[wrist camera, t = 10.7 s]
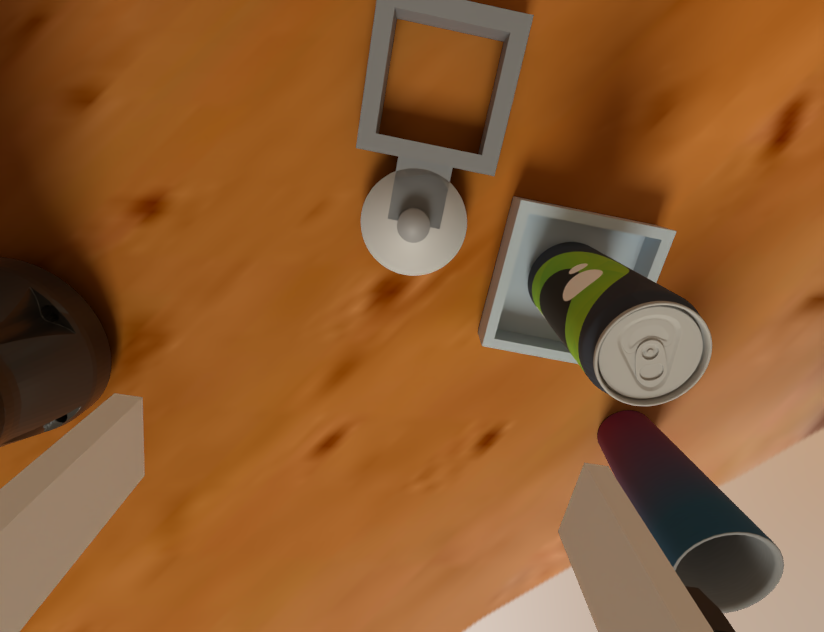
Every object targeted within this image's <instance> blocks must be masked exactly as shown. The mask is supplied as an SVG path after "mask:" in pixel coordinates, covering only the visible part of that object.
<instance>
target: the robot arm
mask: <svg viewBox="0 0 824 632" xmlns="http://www.w3.org/2000/svg"><path fill="white" fill-rule="evenodd" d="M110 372H111V352H110V347H109V342H108V339H107V336H106V334H105V331H104V329H103V327H102V325H101V323H100V321H99V319H98V317H97V316H96V314H95V313H94V311H93V310H92V309H91V307H90V306H89V305H88V304H87V302H86V301H85V300H84V299H83V298H82V297H81V296H80V295H79V294H78V293H77V292H76V291H75V290H74V289H73V288H72V287H70V286H69V285H68V284H67V283H65V282H64V281H63V280H61V279H60V278H58V277H57V276H55V275H53V274H52V273H50V272H48V271H46V270H44V269H42V268H40V267H38V266H35V265H33V264H30V263H27V262H24V261H20V260H16V259H11V258H4V257H0V447H1V446H4V445H7V444H10V443H13V442H16V441H19V440H22V439H25V438H28V437H31V436H34V435H37V434H40V433H43V432H46V431H50V430H52V429H55V428H58V427H60V426H62V425H64V424H66V423H68V422H70V421H72V420H73V419H74V418H76V417H77V416H79V415H80V414H81V413H83V412H84V411H85V410H87V409H88V408H89V407H90V406H92V405H93V404H94V403H95V402H96V401H97V400H98V399H99V398H100V396H101V395H102V393H103V392H104V390H105V388H106V386H107V384H108V381H109V377H110ZM143 477H144V436H143V397H136V396H129V395H122V394H116V393H114V394H113V395H112V396H111V397H110V398H109V399H107V400H106V401H105V402H104V403H103V404H101V405H100V406H99V407H98V408H97V409H95V410H94V411H93V412H92V413H91V414H89V415H88V416H87V417H86V418H85V419H83V420H82V421H81V422H80V423H79V424H77V425H76V426H75V427H74V428H73V429H71V430H70V431H69V432H68V433H67V434H66V435H64V436H63V437H62V438H61V439H60V440H58V441H57V442H56V443H55V444H54V445H52V446H51V447H50V448H49V449H48V450H46V451H45V452H44V453H43V454H42V455H40V456H39V457H38V458H37V459H36V460H34V461H33V462H32V463H31V464H30V465H28V466H27V467H26V468H25V469H24V470H23V471H21V472H20V473H19V474H18V475H17V476H15V477H14V478H13V479H12V480H11V481H9V482H8V483H7V484H6V485H5V486H3V487H2V488H1V489H0V632H20V630H21V629H22V628H23V627H24V625H25V624H26V623H27V622H28V620H29V619H30V618H31V617H32V615H33V614H34V613H35V612H36V610H37V609H38V608H39V607H40V605H41V604H42V603H43V602H44V600H45V599H46V598H47V597H48V595H49V594H50V593H51V592H52V590H53V589H54V588H55V587H56V585H57V584H58V583H59V582H60V580H61V579H62V578H63V577H64V575H65V574H66V573H67V572H68V570H69V569H70V568H71V567H72V565H73V564H74V563H75V562H76V560H77V559H78V558H79V557H80V555H81V554H82V553H83V552H84V550H85V549H86V548H87V547H88V545H89V544H90V543H91V542H92V540H93V539H94V538H95V537H96V535H97V534H98V533H99V532H100V530H101V529H102V528H103V527H104V525H105V524H106V523H107V522H108V520H109V519H110V518H111V517H112V515H113V514H114V513H115V512H116V510H117V509H118V508H119V507H120V505H121V504H122V503H123V502H124V500H125V499H126V498H127V497H128V496H129V494H130V493H131V492H132V491H133V489H134V488H135V487H136V486H137V484H138V483H139V482H140V481H141V479H142V478H143ZM558 533H559V535H560V538H561V540H562V543H563V545H564V548H565V550H566V553H567V555H568V558H569V560H570V563H571V565H572V568H573V570H574V573H575V575H576V578H577V580H578V582H579V585H580V588H581V590H582V593H583V595H584V598H585V600H586V603H587V605H588V608H589V610H590V612H591V615H592V618H593V620H594V623H595V625H596V628H597V630H598V632H735V630H734V629H733V628H732V626H731V625H730V623H729V622H728V620H727V619H726V617H725V616H724V614H723V613H722V611H721V610H720V609H719V608H718V607H717V606H716V605H715V604H714V603H713V602H712V601H711V600H710V599H709V598H708V597H707V596H706V595H705V594H704V593H703V592H702V591H701V590H700V589H699V588H696V587H688V586H684V584H683V583H682V581H681V579H680V578H679V576H678V575H677V573H676V572H675V570H674V568H673V567H672V565H671V564H670V562H669V561H668V559H667V558H666V556H665V554H664V553H663V551H662V550H661V548H660V547H659V545H658V543H657V542H656V540H655V539H654V537H653V536H652V534H651V533H650V531H649V529H648V528H647V526H646V525H645V523H644V522H643V520H642V518H641V517H640V515H639V514H638V512H637V511H636V509H635V507H634V506H633V504H632V503H631V501H630V500H629V498H628V497H627V495H626V493H625V492H624V490H623V489H622V487H621V486H620V484H619V482H618V481H617V479H616V478H615V476H614V475H613V473H612V472H611V470H610V468H609V467H608V466H603V465H596V464H589V463H584V465H583V468H582V470H581V473H580V475H579V478H578V481H577V483H576V486H575V488H574V491H573V494H572V496H571V499H570V502H569V504H568V507H567V509H566V512H565V515H564V517H563V520H562V522H561V525H560V528H559V530H558Z"/></svg>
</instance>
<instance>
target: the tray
mask: <svg viewBox="0 0 824 632" xmlns="http://www.w3.org/2000/svg"><path fill="white" fill-rule="evenodd" d="M675 234H676V231H674V230H671V229H668V228H664V227H661V226H658V225H654V224H649V223H644V222H639V221H634V220H629V219H624V218H619V217H614V216H609V215H604V214H599V213H594V212H589V211H584V210H580V209H575V208H570V207H565V206H560V205H555V204H550V203H545V202H540V201H535V200H530V199H525V198H520V197H515V196H513V199H512V203H511V207H510V211H509V214H508V218H507V222H506V226H505V230H504V233H503V237H502V241H501V245H500V249H499V253H498V256H497V260H496V264H495V268H494V272H493V275H492V279H491V283H490V287H489V291H488V295H487V298H486V302H485V306H484V310H483V314H482V318H481V321H480V325H479V329H478V335H479V338H480V341H481V344H482V346H485V347H490V348H495V349H501V350H506V351H512V352H517V353H522V354H528V355H533V356H538V357H544V358H549V359H554V360H560V361H565V362H570V363H576V364H578V363H577V361H576V360H575V359H574V357H573V356H572V355H571V353H570V352H569V350H568V349H567V348H566V346H565V345H564V344H563V342H562V341H561V340H560V338H559V337H558V336H557V334H556V333H555V332H554V330H553V329H552V327H551V326H550V325H549V323H548V322H547V321H546V319H545V318H544V317H543V315H542V314H541V313H540V311H539V310H538V309H537V307H536V306H535V304H534V303H533V302H532V300H531V298H530V295H529V292H528V276H529V272H530V269H531V267H532V265H533V263H534V262H535V260H536V259H537V258H538V257H539V256H540V255H541V254H542V253H543V252H544V251H545V250H547V249H548V248H550V247H552V246H554V245H557V244H560V243H564V242H579V243H583V244H586V245H588V246H590V247H592V248H594V249H596V250H598V251H599V252H601V253H603V254H605V255H607V256H608V257H610V258H612V259H614V260H616V261H617V262H619V263H621V264H623V265H625V266H626V267H628V268H630V269H632V270H634V271H635V272H637V273H639V274H641V275H643V276H644V277H646V278H648V279H650V280H652V281H653V282H655V283H656V282H657V280H658V277H659V275H660V272H661V270H662V267H663V265H664V262H665V259H666V257H667V254H668V252H669V249H670V247H671V244H672V242H673V239H674V237H675Z"/></svg>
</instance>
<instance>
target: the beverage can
mask: <svg viewBox="0 0 824 632" xmlns="http://www.w3.org/2000/svg"><path fill="white" fill-rule="evenodd" d="M528 292H529V295H530V298H531V300H532V302H533V303H534V304H535V306H536V307H537V309H538V310H539V311H540V313H541V314H542V315H543V317H544V318H545V319H546V321H547V322H548V323H549V325H550V326H551V327H552V329H553V330H554V332H555V333H556V334H557V336H558V337H559V338H560V340H561V341H562V342H563V344H564V345H565V346H566V348H567V349H568V350H569V352H570V353H571V355H572V356H573V357H574V359H575V360H576V361H577V363H578V364H579V365H580V367H581V368H582V369H583V371H584V372H585V373H586V375H587V376H588V377H589V379H590V380H591V381H592V383H593V384H594V385H596V386H597V387H598V388H599V389H601V390H602V391H604V392H605V393H607V394H609V395H610V396H612V397H613V398H615V399H616V400H618V401H620V402H623V403H626V404H629V405H634V406H654V405H659V404H663V403H666V402H669V401H671V400H674V399H676V398H678V397H679V396H681V395H683V394H684V393H686V392H687V391H688V390H689V389H691V388H692V387H693V386H694V385H695V384H696V383H697V382H698V381H699V379H700V378H701V377H702V375H703V374H704V372H705V370H706V368H707V366H708V364H709V361H710V358H711V353H712V339H711V334H710V331H709V329H708V326H707V325H706V323H705V322H704V320H703V319H702V318H701V317H700V315H699V313H698V312H697V310H696V309H695V308H694V307H693V306H692V305H691V304H690V303H689V302H688V301H686V300H685V299H684V298H682V297H680V296H678V295H677V294H675V293H673V292H671V291H669V290H668V289H666V288H664V287H662V286H660V285H659V284H657V283H655V282H653V281H652V280H650V279H648V278H646V277H644V276H643V275H641V274H639V273H637V272H635V271H634V270H632V269H630V268H628V267H626V266H625V265H623V264H621V263H619V262H617V261H616V260H614V259H612V258H610V257H608V256H607V255H605V254H603V253H601V252H599V251H598V250H596V249H594V248H592V247H590V246H588V245H586V244H583V243H579V242H564V243H560V244H557V245H554V246H552V247H550V248H548V249H547V250H545V251H544V252H543V253H542V254H541V255H540V256H539V257H538V258H537V259H536V260H535V262H534V263H533V265H532V267H531V269H530V272H529V276H528Z"/></svg>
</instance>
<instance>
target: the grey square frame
mask: <svg viewBox="0 0 824 632" xmlns="http://www.w3.org/2000/svg"><path fill="white" fill-rule="evenodd" d="M533 16H534V15H530V14H526V13H521V12H517V11H512V10H508V9H503V8H499V7H494V6H490V5H485V4H480V3H476V2H471V1H467V0H377V2H376V9H375V16H374V23H373V30H372V37H371V44H370V52H369V59H368V66H367V73H366V80H365V87H364V94H363V102H362V109H361V116H360V123H359V130H358V137H357V144H356V148H359V149H364V150H369V151H374V152H379V153H384V154H389V155H393V156H398V161H397V167H396V171H395V172H392V173H390V174H389V175H387V176H385V177H384V178H382V179H381V180H380V181H379V182H378V183H377V184H376V185H375V186H374V187H373V188H372V189H371V191H370V192H369V194H368V196H367V198H366V199H365V202H364V205H363V208H362V213H361V230H362V235H363V239H364V242H365V244H366V246H367V248H368V250H369V251H370V253H371V254H372V255H373V257H374V258H375V259H376V260H377V261H378V262H379V263H380V264H382V265H383V266H384V267H386V268H388V269H390V270H391V271H394V272H396V273H400V274H403V275H424V274H428V273H432V272H434V271H436V270H438V269H440V268H442V267H443V266H445V265H446V264H447V263H449V262H450V261H451V260H452V259H453V258H454V256H455V255H456V254H457V253H458V251H459V249H460V248H461V246H462V243H463V241H464V238H465V235H466V229H467V215H466V210H465V206H464V203H463V200H462V198H461V196H460V195H459V193H458V191H457V190H456V189H455V187H454V186H453V185H452V184H451V183H450V178H451V174H452V169H453V168H457V169H462V170H467V171H472V172H477V173H482V174H487V175H491V176H495V171H496V167H497V163H498V159H499V155H500V151H501V147H502V143H503V139H504V135H505V130H506V126H507V122H508V118H509V114H510V110H511V106H512V102H513V98H514V94H515V89H516V85H517V81H518V77H519V73H520V69H521V65H522V61H523V57H524V53H525V48H526V44H527V40H528V36H529V32H530V28H531V24H532V20H533ZM397 18H398V19H402V20H407V21H411V22H416V23H421V24H425V25H430V26H434V27H439V28H444V29H448V30H453V31H457V32H462V33H467V34H471V35H476V36H480V37H485V38H490V39H494V40H499V41H503V42H504V43H503V48H502V52H501V56H500V61H499V65H498V69H497V74H496V78H495V83H494V87H493V91H492V96H491V100H490V104H489V109H488V113H487V118H486V122H485V126H484V131H483V135H482V140H481V144H480V148H479V153H478V154H474V153H469V152H464V151H459V150H454V149H450V148H445V147H440V146H435V145H430V144H425V143H420V142H416V141H411V140H406V139H401V138H396V137H391V136H386V135H382V134H379V131H380V124H381V118H382V111H383V105H384V98H385V92H386V85H387V79H388V73H389V66H390V60H391V53H392V47H393V40H394V34H395V27H396V21H397Z"/></svg>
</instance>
